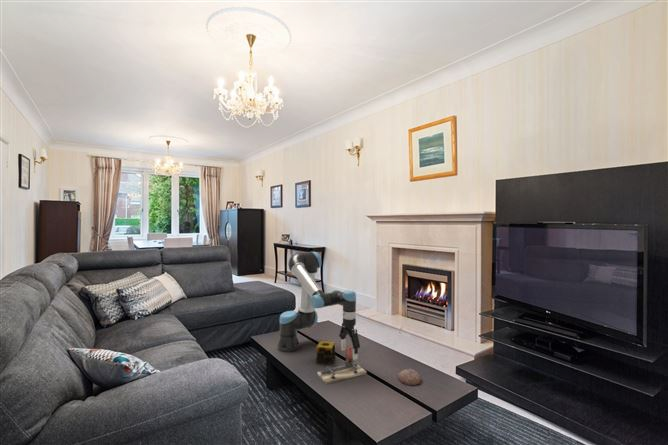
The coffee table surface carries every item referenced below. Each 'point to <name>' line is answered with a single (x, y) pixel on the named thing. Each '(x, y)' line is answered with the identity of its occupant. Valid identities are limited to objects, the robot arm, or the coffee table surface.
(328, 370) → the rail
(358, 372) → the board
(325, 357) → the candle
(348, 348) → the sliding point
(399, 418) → the coffee table surface
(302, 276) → the robot arm
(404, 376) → the decorative stone
